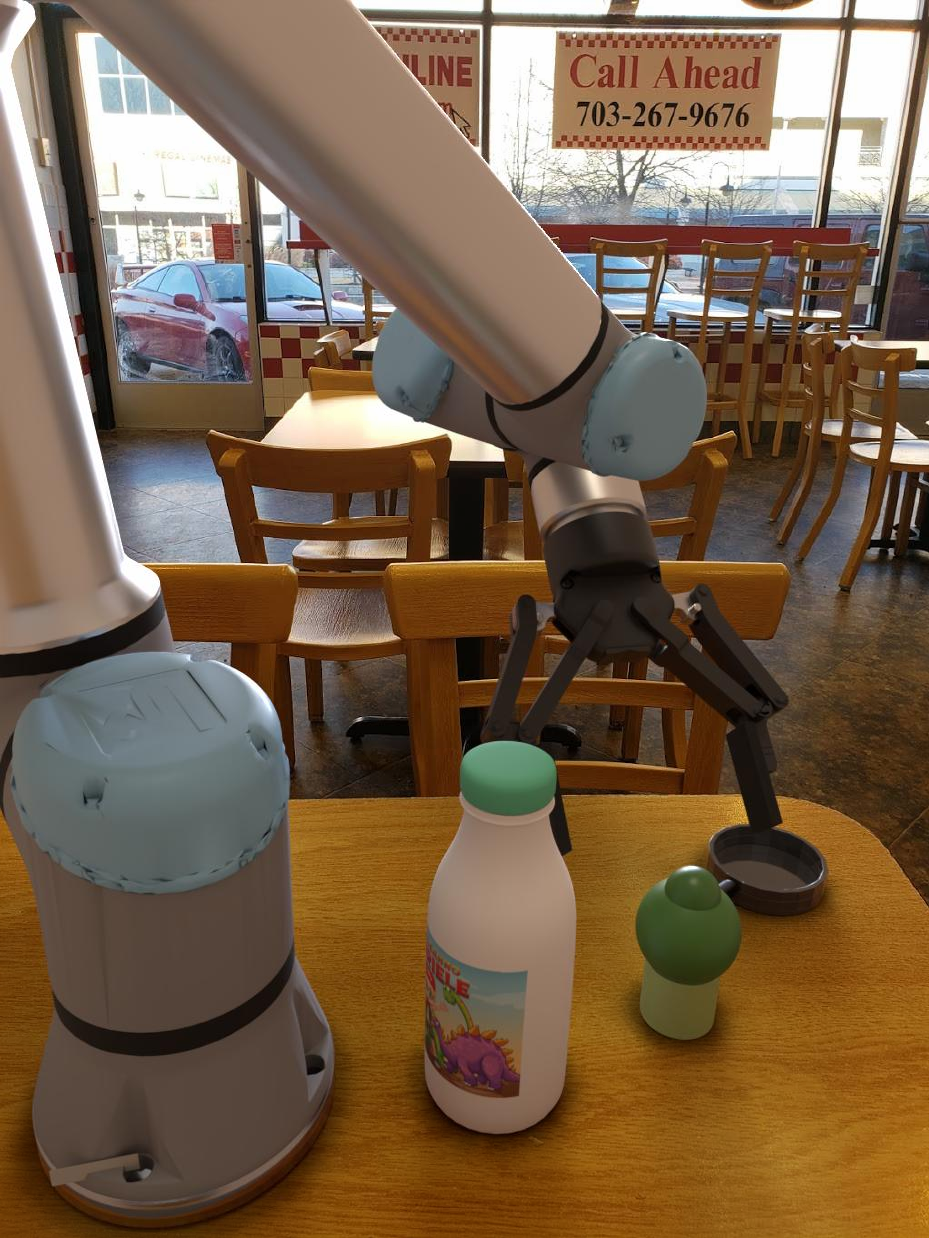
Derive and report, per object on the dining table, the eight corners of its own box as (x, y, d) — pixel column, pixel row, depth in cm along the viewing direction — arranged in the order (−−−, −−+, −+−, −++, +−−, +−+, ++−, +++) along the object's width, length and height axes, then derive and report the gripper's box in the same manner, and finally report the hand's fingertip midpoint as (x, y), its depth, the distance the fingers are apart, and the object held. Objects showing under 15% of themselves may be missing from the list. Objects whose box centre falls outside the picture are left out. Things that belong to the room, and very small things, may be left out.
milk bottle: (509, 1006, 57) (525, 709, 50) (593, 1096, 51) (625, 774, 44) (398, 1060, 53) (397, 746, 46) (475, 1165, 47) (488, 823, 40)
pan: (682, 873, 69) (685, 850, 69) (747, 833, 74) (750, 811, 74) (782, 932, 64) (787, 908, 63) (845, 884, 69) (849, 861, 68)
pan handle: (655, 934, 62) (657, 919, 61) (725, 887, 67) (727, 873, 66) (670, 944, 61) (672, 929, 61) (739, 896, 66) (742, 882, 65)
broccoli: (605, 1006, 57) (619, 866, 53) (667, 962, 61) (684, 828, 57) (686, 1068, 53) (708, 920, 49) (747, 1017, 56) (772, 876, 53)
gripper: (734, 550, 71) (816, 829, 63) (410, 567, 65) (454, 877, 57) (782, 498, 64) (881, 804, 56) (425, 513, 59) (479, 855, 51)
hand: (666, 842), depth 57 cm, fingers open, 13 cm apart
